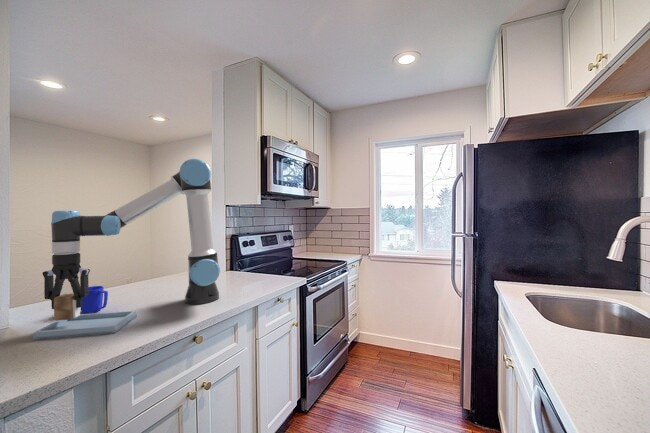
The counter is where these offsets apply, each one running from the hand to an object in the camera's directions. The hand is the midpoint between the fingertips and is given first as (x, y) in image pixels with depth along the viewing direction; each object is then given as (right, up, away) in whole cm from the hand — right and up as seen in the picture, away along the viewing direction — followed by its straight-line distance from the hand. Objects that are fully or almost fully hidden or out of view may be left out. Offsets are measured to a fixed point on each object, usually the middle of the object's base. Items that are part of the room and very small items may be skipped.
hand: (67, 316), depth 101 cm
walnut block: (0, 0, 0) cm, 0 cm away
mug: (-4, -4, +18) cm, 19 cm away
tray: (+7, -4, +2) cm, 8 cm away
